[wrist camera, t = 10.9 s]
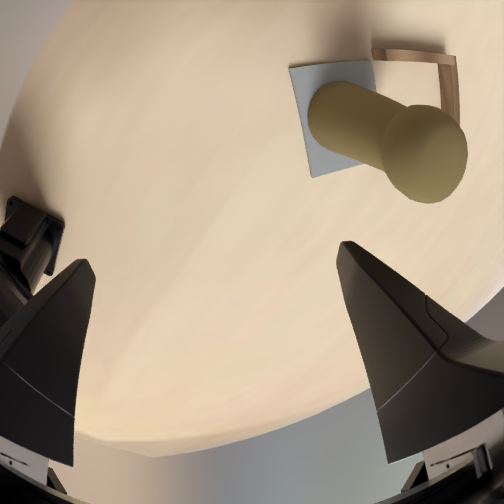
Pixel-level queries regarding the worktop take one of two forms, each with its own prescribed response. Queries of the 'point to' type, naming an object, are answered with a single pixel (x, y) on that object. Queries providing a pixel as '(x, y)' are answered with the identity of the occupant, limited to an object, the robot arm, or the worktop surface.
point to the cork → (391, 138)
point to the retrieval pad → (305, 87)
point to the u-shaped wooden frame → (446, 74)
